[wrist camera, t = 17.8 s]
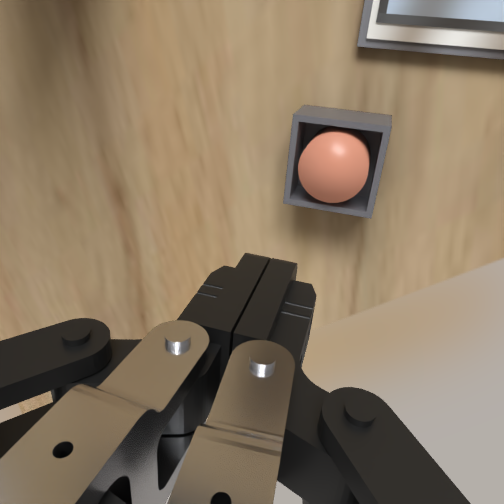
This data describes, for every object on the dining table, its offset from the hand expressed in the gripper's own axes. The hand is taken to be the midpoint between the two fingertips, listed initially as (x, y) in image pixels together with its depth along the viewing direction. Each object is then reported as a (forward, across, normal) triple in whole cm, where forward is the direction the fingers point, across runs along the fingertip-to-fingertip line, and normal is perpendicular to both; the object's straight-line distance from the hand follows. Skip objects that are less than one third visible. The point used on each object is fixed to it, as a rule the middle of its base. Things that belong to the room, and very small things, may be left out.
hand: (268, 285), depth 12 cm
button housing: (+21, 0, +1) cm, 21 cm away
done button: (+20, 0, +1) cm, 20 cm away
